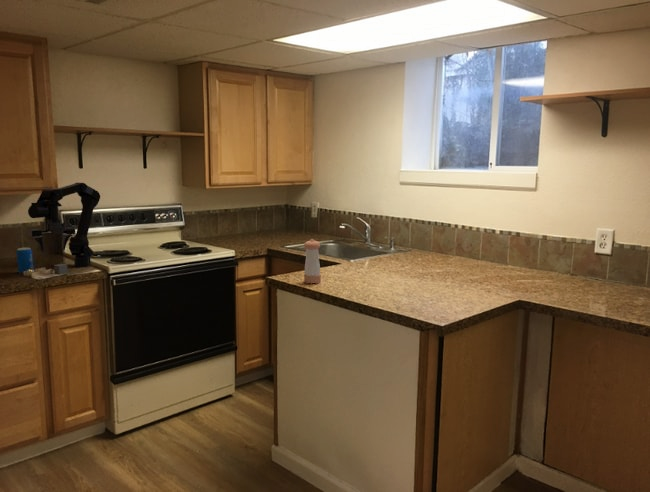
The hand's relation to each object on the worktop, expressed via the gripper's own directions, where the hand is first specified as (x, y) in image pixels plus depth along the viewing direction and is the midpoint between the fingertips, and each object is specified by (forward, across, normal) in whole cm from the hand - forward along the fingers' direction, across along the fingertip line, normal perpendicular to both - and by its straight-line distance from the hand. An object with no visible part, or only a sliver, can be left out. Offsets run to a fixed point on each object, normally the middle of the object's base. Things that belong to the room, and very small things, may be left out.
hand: (53, 250), depth 254 cm
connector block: (+11, +3, 0) cm, 11 cm away
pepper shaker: (+11, +77, -92) cm, 120 cm away
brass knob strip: (+11, -9, +3) cm, 15 cm away
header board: (+12, -3, +2) cm, 13 cm away
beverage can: (+12, -8, +15) cm, 21 cm away
